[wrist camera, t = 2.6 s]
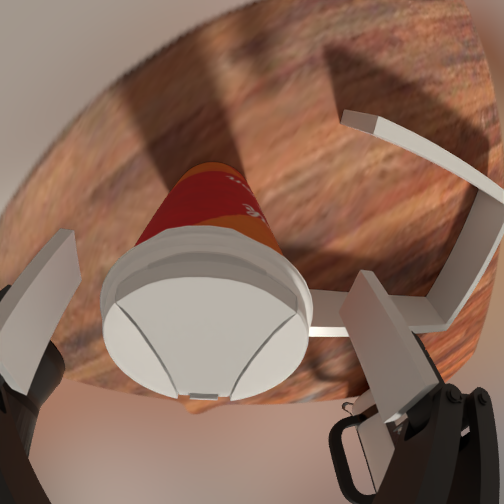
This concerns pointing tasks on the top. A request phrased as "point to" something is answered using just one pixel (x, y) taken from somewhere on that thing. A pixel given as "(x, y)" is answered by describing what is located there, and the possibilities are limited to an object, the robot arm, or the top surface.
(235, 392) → the paper cup
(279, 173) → the top surface
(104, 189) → the top surface
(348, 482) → the coffee press
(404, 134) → the box
